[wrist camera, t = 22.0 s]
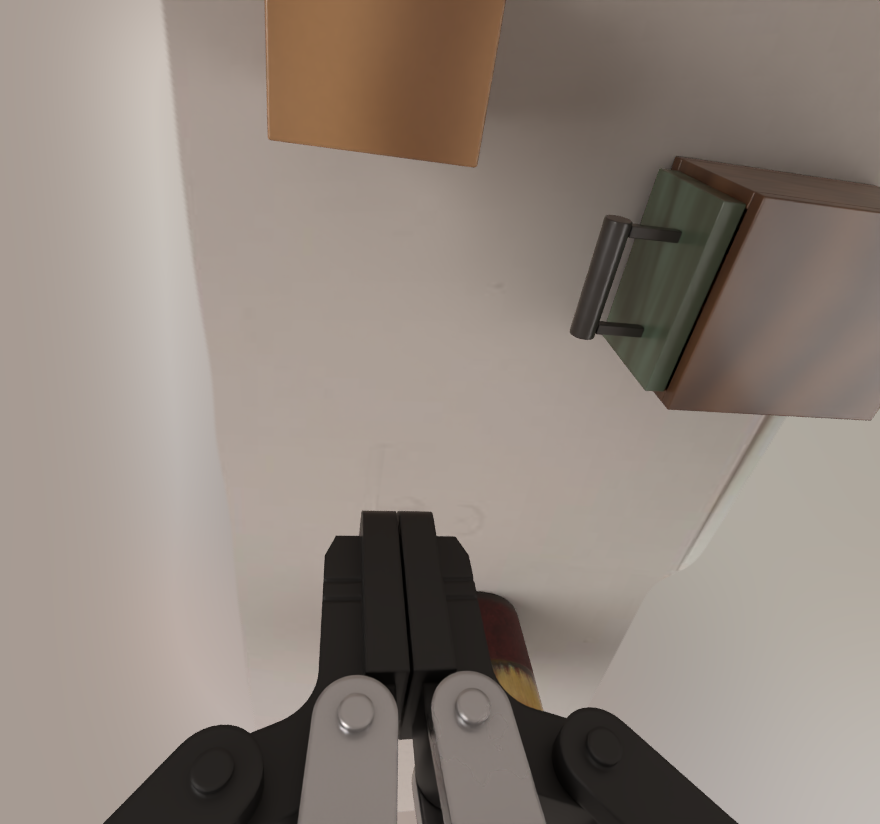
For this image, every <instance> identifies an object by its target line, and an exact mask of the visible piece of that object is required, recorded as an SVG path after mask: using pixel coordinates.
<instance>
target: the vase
mask: <svg viewBox="0 0 880 824" xmlns="http://www.w3.org/2000/svg"><path fill="white" fill-rule="evenodd" d="M476 593H477V599H478V602H479V607H480V612H481V616H482V621H483V626H484V631H485V635H486V640H487V645H488V650H489V654H490V659H491V664H492V667H493V671H494V673H495V675H496V678H497V679H498V681H499V683H500V684H501V686H502V687H503V688H504V689H505V690H506V692H508V693H509V694H510V695H511V696H512V697H513V698H515V699H516V700H517V701H519V702H521V703H522V704H524V705H526V706H529V707H532V708H534V709H538V710H541V711H543V707H542V703H541V700H540V696H539V692H538V689H537V685H536V681H535V678H534V674H533V670H532V667H531V663H530V659H529V656H528V652H527V648H526V645H525V641H524V637H523V634H522V630H521V626H520V623H519V619H518V616H517V612H516V610H515V609H514V607H513V606H512V605H511V604H510V603H509V602H508V601H507V600H505V599H504V598H501V597H499V596H497V595H493V594H489V593H482V592H476Z"/></svg>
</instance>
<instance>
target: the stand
mask: <svg viewBox="0 0 880 824" xmlns="http://www.w3.org/2000/svg"><path fill="white" fill-rule="evenodd" d="M505 3H506V0H265V38H266V81H267V124H268V139H270V140H273V141H281V142H288V143H295V144H303V145H310V146H318V147H325V148H333V149H340V150H348V151H355V152H363V153H370V154H377V155H385V156H392V157H400V158H407V159H415V160H422V161H430V162H437V163H445V164H452V165H459V166H467V167H476V166H477V164H478V158H479V152H480V147H481V141H482V135H483V129H484V124H485V118H486V112H487V106H488V101H489V95H490V89H491V83H492V77H493V72H494V66H495V60H496V54H497V49H498V43H499V37H500V31H501V26H502V20H503V14H504V8H505Z"/></svg>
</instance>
